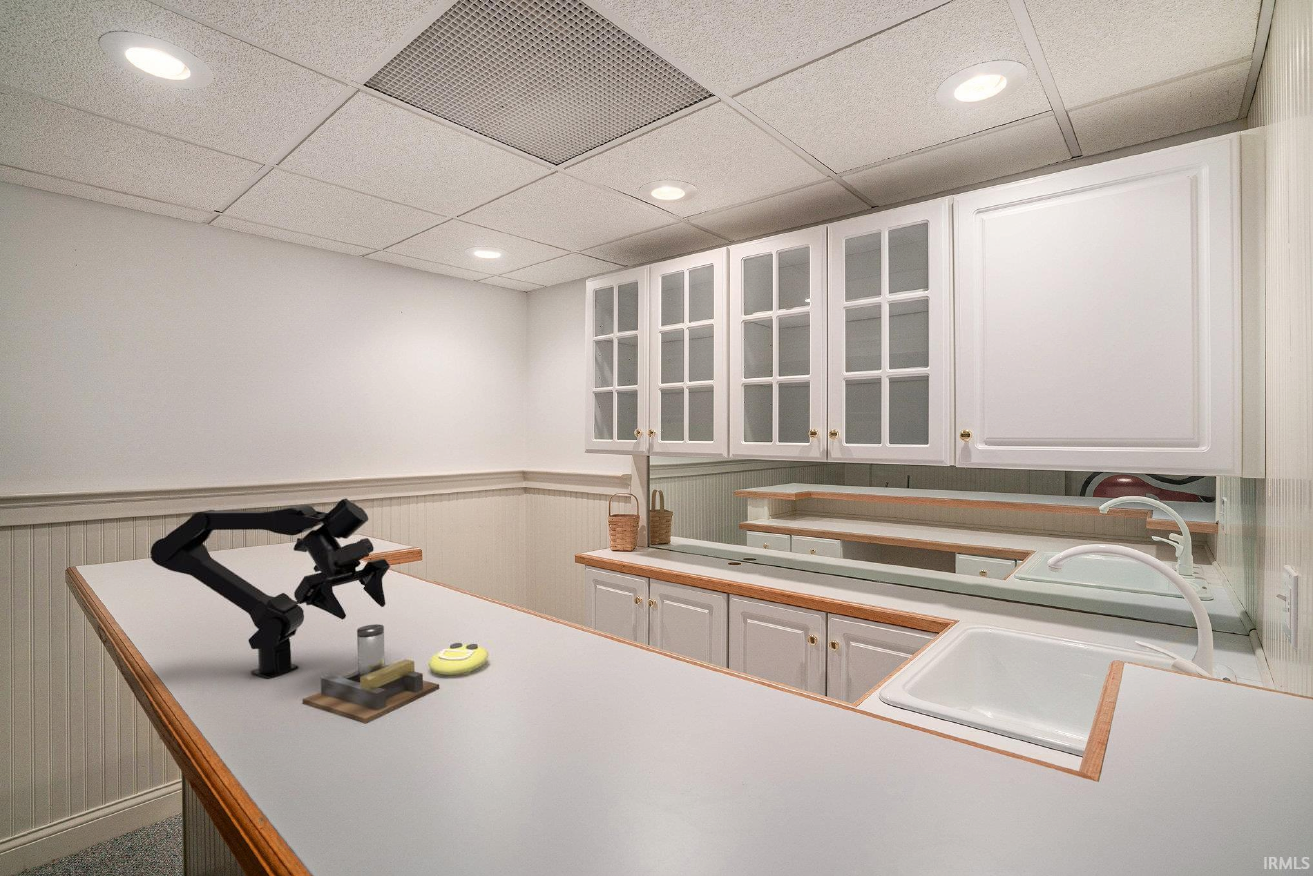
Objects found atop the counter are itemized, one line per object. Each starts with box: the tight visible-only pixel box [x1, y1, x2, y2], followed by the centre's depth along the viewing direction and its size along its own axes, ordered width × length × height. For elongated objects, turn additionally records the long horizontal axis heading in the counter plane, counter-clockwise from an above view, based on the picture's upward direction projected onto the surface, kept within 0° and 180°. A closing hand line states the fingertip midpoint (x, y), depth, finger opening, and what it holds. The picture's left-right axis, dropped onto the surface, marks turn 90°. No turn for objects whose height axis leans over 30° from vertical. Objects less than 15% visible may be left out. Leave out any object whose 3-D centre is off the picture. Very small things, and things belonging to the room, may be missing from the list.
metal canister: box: [356, 624, 386, 683], centre depth 118 cm, size 5×5×12 cm
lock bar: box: [360, 658, 416, 691], centre depth 116 cm, size 2×10×2 cm, turn 151°
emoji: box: [428, 642, 489, 676], centre depth 132 cm, size 4×12×12 cm
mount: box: [301, 664, 440, 724], centre depth 118 cm, size 18×16×4 cm
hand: (364, 611), depth 127 cm, fingers open, 9 cm apart
